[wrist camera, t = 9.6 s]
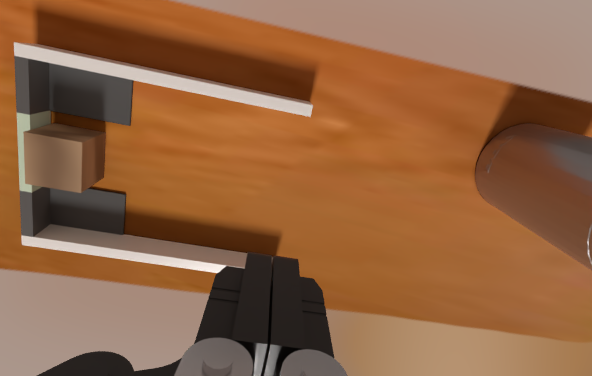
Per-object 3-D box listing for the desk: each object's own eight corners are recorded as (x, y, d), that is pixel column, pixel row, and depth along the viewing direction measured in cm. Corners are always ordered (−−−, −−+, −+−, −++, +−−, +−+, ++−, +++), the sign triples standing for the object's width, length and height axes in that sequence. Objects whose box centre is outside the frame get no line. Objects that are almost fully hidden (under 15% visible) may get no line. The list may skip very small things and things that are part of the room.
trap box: (309, 101, 34) (312, 105, 31) (273, 265, 39) (273, 281, 37) (37, 44, 31) (13, 42, 28) (41, 230, 36) (22, 244, 33)
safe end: (50, 110, 32) (29, 114, 30) (51, 181, 35) (31, 192, 32) (39, 107, 32) (16, 112, 30) (40, 180, 35) (19, 190, 32)
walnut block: (106, 132, 34) (82, 142, 29) (104, 177, 35) (81, 193, 31) (55, 122, 33) (23, 131, 29) (55, 168, 34) (25, 183, 30)
